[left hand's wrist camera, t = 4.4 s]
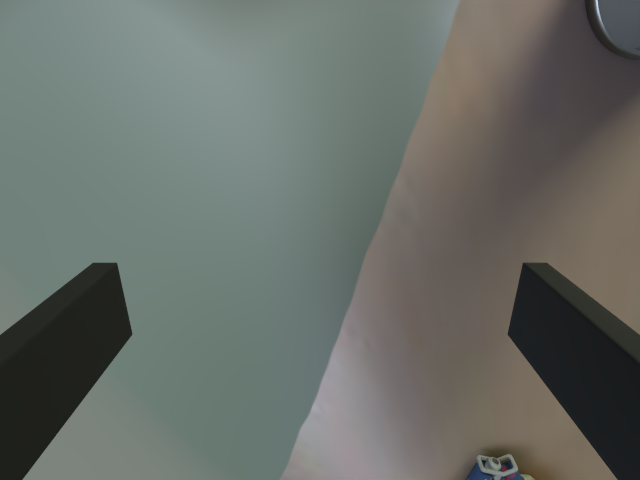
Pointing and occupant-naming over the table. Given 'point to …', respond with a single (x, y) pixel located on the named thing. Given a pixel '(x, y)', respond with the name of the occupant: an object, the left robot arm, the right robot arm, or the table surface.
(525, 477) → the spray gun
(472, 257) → the table surface
